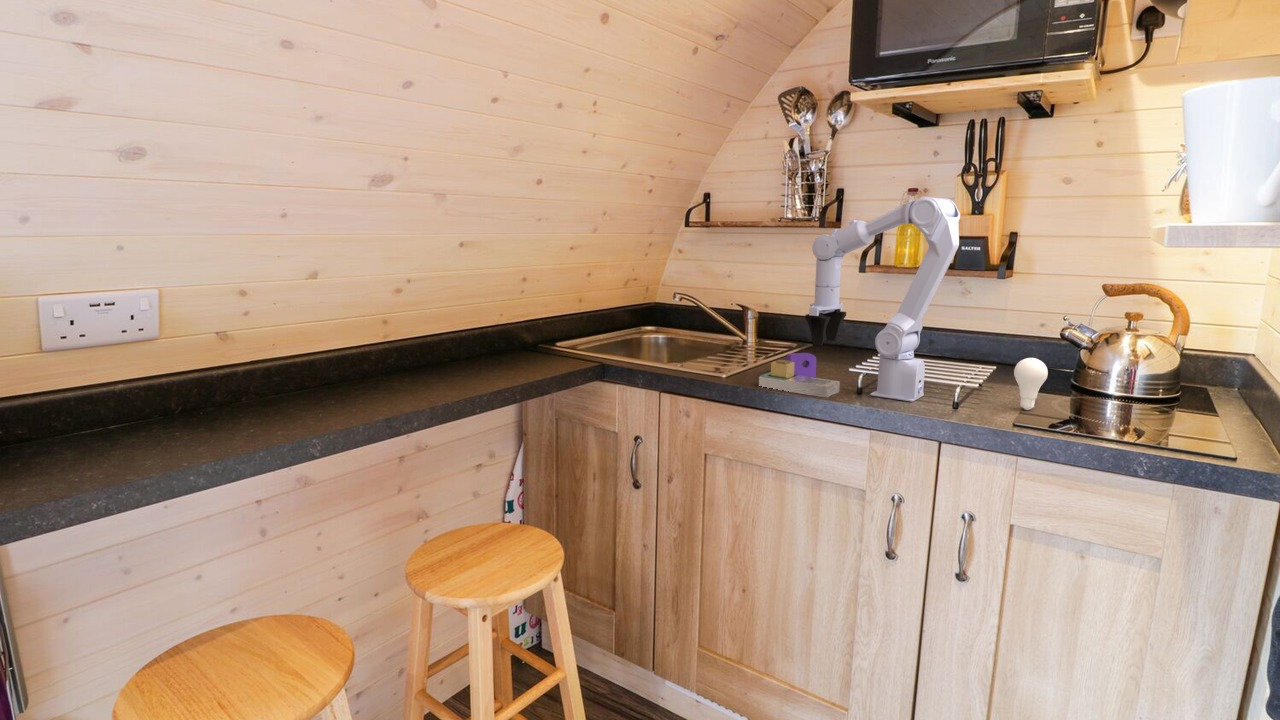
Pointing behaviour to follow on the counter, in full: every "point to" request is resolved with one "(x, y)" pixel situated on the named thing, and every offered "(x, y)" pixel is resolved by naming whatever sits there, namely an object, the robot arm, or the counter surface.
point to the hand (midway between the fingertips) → (824, 342)
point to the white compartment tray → (801, 385)
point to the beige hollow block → (782, 369)
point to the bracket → (808, 368)
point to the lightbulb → (1030, 380)
